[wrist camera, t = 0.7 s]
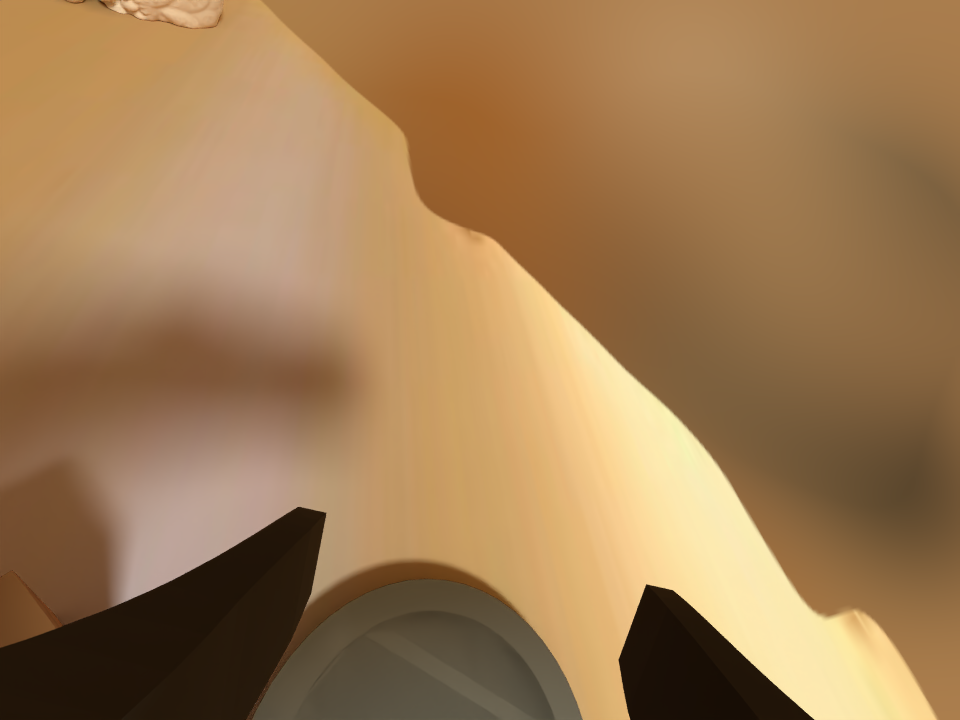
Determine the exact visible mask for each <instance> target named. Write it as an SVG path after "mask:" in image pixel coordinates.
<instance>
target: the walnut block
mask: <svg viewBox="0 0 960 720" xmlns="http://www.w3.org/2000/svg"><path fill="white" fill-rule="evenodd" d="M62 626H63V625H62V624H61V623H60V621H59V620H58V619H57V617H56V616H55V615H54V613H53V612H52V611H51V610H50V609H49V608H48V607H47V606H46V605H45V604H44V603H43V602H42V601H41V600H40V599H39V598H38V597H37V596H36V595H35V594H34V592H33V591H32V590H31V589H30V588H29V587H28V586H27V585H26V584H25V583H24V582H23V581H22V580H21V579H20V578H19V577H18V576H17V575H16V574H15V573H14V571H13V570H12V571H10V572H8V573H7V574H5V575H3V576H2V577H0V648H1V647H4V646H7V645H10V644H13V643H17V642H20V641H23V640H26V639H29V638H32V637H35V636H37V635H40V634H43V633H45V632H48V631H51V630H54V629H56V628H59V627H62Z"/></svg>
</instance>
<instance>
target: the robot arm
mask: <svg viewBox="0 0 960 720" xmlns="http://www.w3.org/2000/svg"><path fill="white" fill-rule="evenodd" d="M325 518H326V513H324V512H320V511H315V510H311V509H306V508H302V507H297V508H296V509H294V510H292V511H291V512H289V513H287V514H286V515H284V516H282V517H281V518H279V519H278V520H276V521H275V522H273V523H271V524H270V525H268V526H267V527H265V528H263V529H262V530H260V531H259V532H257V533H255V534H254V535H252V536H251V537H249V538H247V539H246V540H244V541H242V542H241V543H239V544H237V545H236V546H234V547H232V548H231V549H229V550H227V551H225V552H224V553H222V554H220V555H219V556H217V557H215V558H213V559H212V560H210V561H208V562H206V563H204V564H202V565H200V566H198V567H197V568H195V569H193V570H191V571H189V572H187V573H185V574H184V575H182V576H180V577H178V578H176V579H174V580H172V581H170V582H168V583H166V584H164V585H161V586H159V587H157V588H155V589H153V590H151V591H149V592H146V593H144V594H142V595H140V596H137V597H135V598H133V599H130V600H128V601H126V602H124V603H121V604H119V605H117V606H114V607H112V608H109V609H107V610H104V611H102V612H99V613H97V614H94V615H91V616H89V617H86V618H83V619H80V620H78V621H75V622H72V623H70V624H67V625H64V626H62V627H59V628H56V629H54V630H51V631H48V632H45V633H43V634H40V635H37V636H35V637H32V638H29V639H26V640H23V641H20V642H17V643H13V644H10V645H7V646H4V647H1V648H0V720H246V719H247V717H248V715H249V713H250V712H251V710H252V708H253V706H254V705H255V703H256V701H257V699H258V698H259V696H260V694H261V692H262V691H263V689H264V687H265V685H266V684H267V682H268V680H269V678H270V676H271V675H272V673H273V671H274V669H275V668H276V666H277V664H278V662H279V661H280V659H281V657H282V655H283V653H284V652H285V650H286V648H287V646H288V644H289V643H290V641H291V639H292V636H293V634H294V632H295V630H296V627H297V625H298V623H299V621H300V618H301V616H302V614H303V611H304V609H305V607H306V604H307V602H308V599H309V597H310V595H311V591H312V586H313V581H314V575H315V570H316V565H317V560H318V554H319V549H320V544H321V539H322V534H323V528H324V523H325ZM619 665H620V671H621V677H622V683H623V689H624V694H625V699H626V704H627V709H628V713H629V716H630V720H814V719H813V718H812V717H811V716H810V715H808V714H807V713H806V712H805V711H804V710H803V709H802V708H800V707H799V706H798V705H797V704H796V703H795V702H794V701H792V700H791V699H790V698H789V697H788V696H787V695H786V694H784V693H783V692H782V691H781V690H780V689H779V688H778V687H777V686H776V685H774V684H773V683H772V682H771V681H770V680H769V679H768V678H767V677H766V676H765V675H764V674H762V673H761V672H760V671H759V670H758V669H757V668H756V667H755V666H754V665H753V664H752V663H751V662H750V661H749V660H748V659H746V658H745V657H744V656H743V655H742V654H741V653H740V652H739V651H738V650H737V649H736V648H735V647H734V646H733V645H732V644H731V643H730V642H729V641H728V640H727V639H725V638H724V637H723V636H722V635H721V634H720V633H719V632H718V631H717V630H716V629H715V628H714V627H713V626H712V625H711V624H710V623H709V622H708V621H707V620H706V619H705V618H704V617H702V616H701V615H700V614H699V613H698V612H697V611H696V610H695V609H694V608H693V607H692V606H691V605H690V604H688V603H687V602H686V601H685V600H684V599H683V598H682V597H680V596H679V595H678V594H677V593H675V592H674V591H673V590H669V589H665V588H660V587H656V586H651V585H647V584H646V587H645V589H644V592H643V595H642V598H641V600H640V603H639V606H638V608H637V611H636V614H635V617H634V619H633V622H632V625H631V628H630V630H629V633H628V636H627V638H626V641H625V644H624V647H623V649H622V652H621V655H620V658H619Z"/></svg>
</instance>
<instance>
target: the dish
mask: <svg viewBox="0 0 960 720" xmlns="http://www.w3.org/2000/svg"><path fill="white" fill-rule="evenodd" d="M252 720H582V717H581V714H580V711H579V708H578V705H577V702H576V700H575V697H574V695H573V693H572V690H571V688H570V686H569V683H568V681H567V679H566V677H565V675H564V674H563V672H562V670H561V668H560V666H559V665H558V663H557V661H556V659H555V658H554V656H553V655H552V653H551V652H550V650H549V649H548V648H547V646H546V645H545V643H544V642H543V640H542V639H541V638H540V637H539V636H538V635H537V633H536V632H535V631H534V630H533V629H532V628H531V626H530V625H529V624H528V623H527V622H525V621H524V620H523V619H522V618H521V617H520V616H519V615H518V614H517V613H516V612H515V611H513V610H512V609H511V608H509V607H508V606H506V605H505V604H504V603H502V602H501V601H499V600H498V599H496V598H494V597H492V596H491V595H489V594H487V593H485V592H483V591H481V590H478V589H476V588H473V587H470V586H468V585H465V584H461V583H456V582H452V581H447V580H436V579H419V580H407V581H403V582H398V583H394V584H390V585H386V586H384V587H381V588H378V589H376V590H373V591H370V592H368V593H366V594H364V595H362V596H360V597H359V598H357V599H355V600H353V601H351V602H349V603H348V604H346V605H345V606H343V607H342V608H341V609H339V610H338V611H336V612H335V613H334V614H332V615H331V616H329V617H328V618H327V619H326V620H325V621H324V622H323V623H322V624H320V625H319V626H318V627H317V628H316V629H315V630H314V631H313V632H312V633H311V634H310V635H309V636H308V637H307V638H306V639H305V640H304V641H303V642H302V644H301V645H300V646H299V647H298V648H297V649H296V650H295V652H294V653H293V654H292V655H291V656H290V657H289V659H288V660H287V662H286V663H285V665H284V666H283V667H282V669H281V670H280V672H279V673H278V675H277V676H276V677H275V679H274V680H273V682H272V683H271V685H270V686H269V688H268V690H267V692H266V693H265V695H264V697H263V699H262V701H261V702H260V704H259V706H258V708H257V710H256V711H255V713H254V716H253V718H252Z"/></svg>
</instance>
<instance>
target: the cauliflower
mask: <svg viewBox="0 0 960 720" xmlns="http://www.w3.org/2000/svg"><path fill="white" fill-rule="evenodd" d="M66 1H69V2H72V3H79V2H83V0H66ZM99 1H102V2H103V3H105V4H106V6H107V7H108V8H110V9H111V10H113V11H116V12H118V13H122V14H131V15H134V16H135V17H136V18H138V19H141V20H150V21H155V20H160V21H163V22H170V23H173V24H175V25H178V26H183V27H187V28H191V29H197V28H209V27H215V26H216V25H217V23H218V20H219V17H220V15H221V13H222V10H223V0H99Z"/></svg>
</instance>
